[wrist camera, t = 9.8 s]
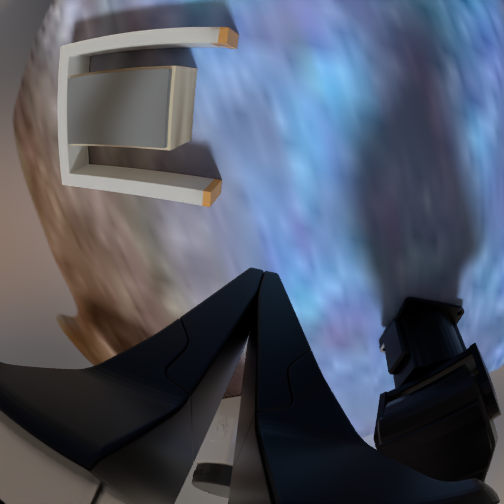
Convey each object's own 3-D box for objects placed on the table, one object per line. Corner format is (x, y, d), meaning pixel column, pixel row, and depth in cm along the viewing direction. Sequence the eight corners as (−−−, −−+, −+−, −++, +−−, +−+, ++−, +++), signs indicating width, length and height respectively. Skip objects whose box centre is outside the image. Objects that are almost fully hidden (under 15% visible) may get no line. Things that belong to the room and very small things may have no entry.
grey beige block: (198, 68, 16) (172, 65, 13) (192, 139, 19) (167, 152, 16) (101, 73, 17) (65, 76, 14) (99, 134, 20) (66, 146, 16)
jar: (258, 390, 32) (236, 484, 22) (290, 420, 35) (278, 501, 25) (201, 400, 36) (173, 478, 25) (236, 427, 38) (217, 498, 28)
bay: (239, 34, 15) (228, 27, 12) (220, 193, 20) (209, 206, 18) (82, 46, 16) (60, 46, 14) (81, 174, 22) (62, 184, 19)
